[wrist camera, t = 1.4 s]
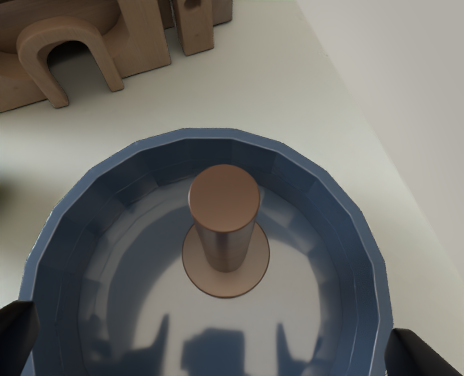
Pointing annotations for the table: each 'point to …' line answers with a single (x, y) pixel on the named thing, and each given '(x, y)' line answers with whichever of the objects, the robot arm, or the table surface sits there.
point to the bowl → (180, 286)
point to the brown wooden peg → (225, 233)
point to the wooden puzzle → (95, 39)
